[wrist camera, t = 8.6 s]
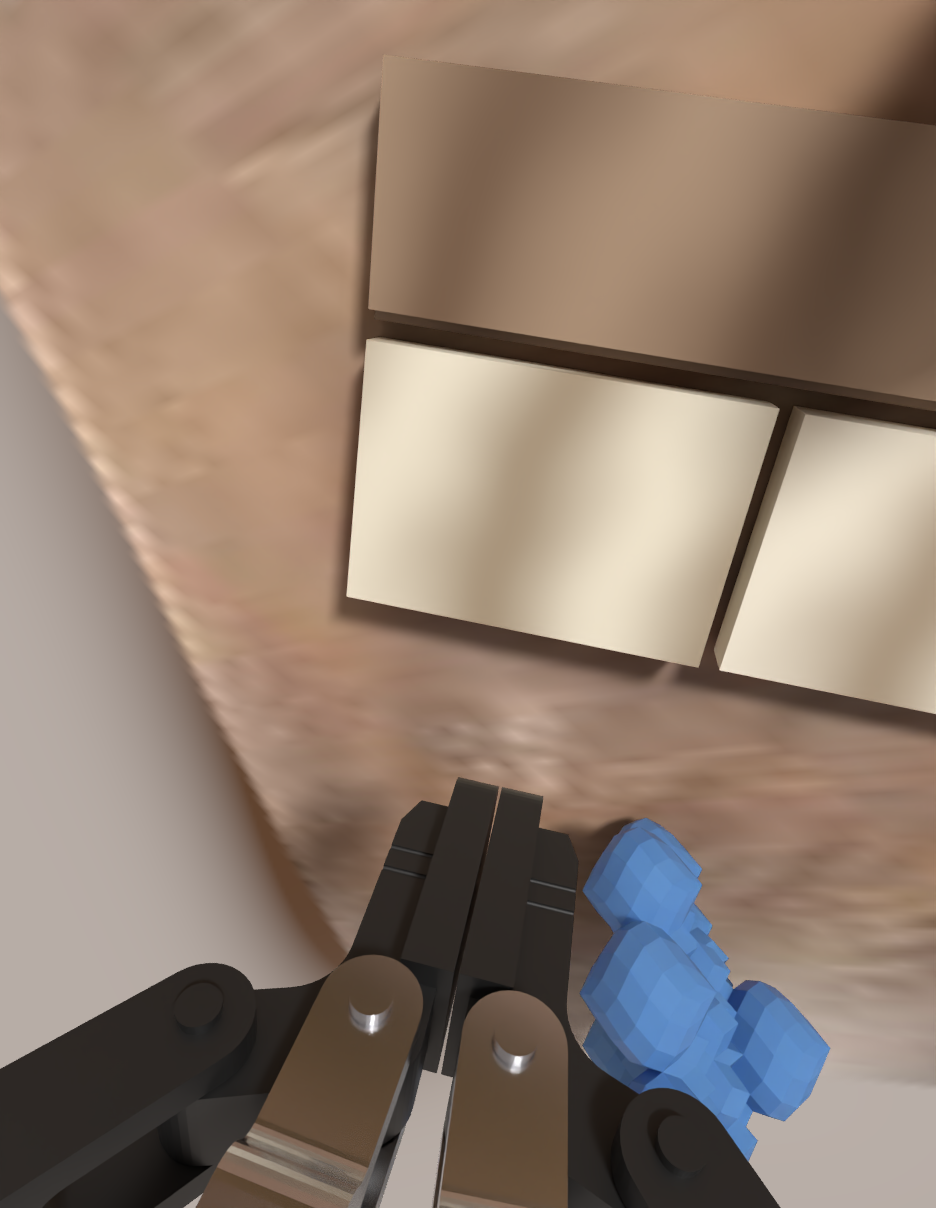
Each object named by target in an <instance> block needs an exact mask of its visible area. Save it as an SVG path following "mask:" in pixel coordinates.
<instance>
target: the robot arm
mask: <svg viewBox="0 0 936 1208" xmlns="http://www.w3.org/2000/svg"><path fill="white" fill-rule="evenodd" d="M498 789H499V786H494V785H490V784H486V783H481V782H477V781H473V780H468V779H464V778H460V777H458V779H457V781H456V784H455V787H454V791H453V794H452V797H451V800H450V803H449V806H448V807H447V806H443V805H439V804H435V803H430V802H426V801H421V802H419V803H418V804H417V805H416V806H415V807H414V808H413V809H412V810H411V811H410V812H409V813H408V814H407V815H406V816H404V817H403V818H402V819H401V822H400V824H399V827H398V830H397V832H396V835H395V837H394V840H393V842H392V846H391V849H390V850H389V853H388V855H387V858H386V860H385V863H384V867H383V870H382V871H381V873H380V876H379V879H378V881H377V884H376V886H375V889H374V891H373V894H372V897H371V899H370V902H369V904H368V907H367V909H366V912H365V915H364V917H363V920H362V922H361V925H360V927H359V930H358V933H357V935H356V938H355V940H354V943H353V946H352V948H351V950H350V952H349V954H348V955H347V957H346V958H345V959H344V961H343V962H342V963H341V964H340V965H339V966H338V967H337V968H336V969H335V970H334V971H332V972H331V973H330V974H328V975H327V976H325V977H323V978H322V979H320V980H318V981H315V982H313V983H310V984H307V985H303V986H297V987H290V988H289V987H288V988H273V989H258V990H254V989H253V987H252V985H251V983H250V981H249V980H248V979H247V978H246V976H245V975H243V974H242V973H241V972H240V971H238V970H236V969H235V968H233V967H230V966H227V965H224V964H218V963H205V964H199V965H195V966H191V967H188V968H186V969H184V970H181V971H179V972H177V973H175V974H174V975H172V976H170V977H168V978H166V979H164V980H163V981H161V982H159V983H157V984H155V985H153V986H151V987H150V988H148V989H146V990H144V991H142V992H140V993H139V994H137V995H135V996H133V997H131V998H130V999H128V1000H126V1001H124V1002H122V1003H120V1004H119V1005H117V1006H115V1007H113V1008H111V1009H109V1010H107V1011H106V1012H104V1013H102V1014H100V1015H98V1016H97V1017H95V1018H93V1019H91V1020H89V1021H87V1022H85V1023H84V1024H82V1025H80V1026H78V1027H76V1028H75V1029H73V1030H71V1031H69V1032H67V1033H65V1034H64V1035H62V1036H60V1037H58V1038H56V1039H54V1040H52V1041H51V1042H49V1043H47V1044H45V1045H43V1046H41V1047H40V1048H38V1049H36V1050H35V1051H32V1052H31V1053H29V1054H27V1055H25V1056H23V1057H21V1058H20V1059H18V1060H16V1061H14V1062H12V1063H10V1064H9V1065H7V1066H5V1067H3V1068H1V1069H0V1208H183V1207H185V1206H186V1205H187V1204H189V1203H190V1202H191V1201H193V1200H194V1199H196V1198H197V1197H198V1196H199V1195H201V1194H202V1193H203V1194H202V1196H201V1198H200V1200H199V1202H198V1204H197V1206H196V1208H379V1207H380V1204H381V1201H382V1198H383V1195H384V1191H385V1188H386V1185H387V1182H388V1179H389V1176H390V1173H391V1170H392V1167H393V1164H394V1161H395V1157H396V1155H397V1151H398V1148H399V1145H400V1142H401V1139H402V1136H403V1133H404V1130H405V1126H406V1123H407V1121H408V1119H409V1117H410V1115H411V1112H412V1109H413V1105H414V1101H415V1097H416V1093H417V1089H418V1085H419V1080H420V1077H421V1073H422V1069H423V1070H427V1071H430V1072H434V1073H437V1069H438V1065H439V1061H440V1056H441V1052H442V1048H443V1043H444V1039H445V1035H446V1030H447V1026H448V1022H449V1017H450V1013H451V1009H452V1004H453V1000H454V1005H453V1011H452V1016H451V1022H450V1027H449V1033H448V1039H447V1044H446V1050H445V1056H444V1061H443V1067H442V1072H441V1074H443V1075H446V1076H450V1077H453V1081H452V1086H451V1091H450V1097H449V1102H448V1107H447V1112H446V1117H445V1123H444V1128H443V1133H442V1138H441V1145H440V1151H439V1159H438V1166H437V1173H436V1181H435V1187H434V1194H433V1202H432V1208H780V1207H779V1205H778V1204H777V1202H776V1201H775V1199H774V1198H773V1196H772V1195H771V1194H770V1192H769V1191H768V1189H767V1188H766V1186H765V1185H764V1184H763V1182H762V1181H761V1179H760V1178H759V1176H758V1175H757V1173H756V1172H755V1171H754V1169H753V1168H752V1166H751V1165H750V1163H749V1162H748V1161H747V1159H746V1158H745V1156H744V1155H743V1153H742V1152H741V1150H740V1149H739V1148H738V1146H737V1145H736V1143H735V1142H734V1140H733V1139H732V1138H731V1136H730V1135H729V1133H728V1132H727V1130H726V1129H725V1128H724V1126H723V1125H722V1123H721V1122H720V1121H719V1120H718V1118H717V1117H716V1116H715V1115H714V1114H713V1113H712V1112H711V1111H710V1110H709V1109H708V1108H707V1107H706V1106H705V1105H704V1104H702V1103H701V1102H700V1101H698V1100H697V1099H695V1098H694V1097H692V1096H690V1095H689V1094H686V1093H684V1092H681V1091H679V1090H675V1089H670V1088H654V1089H649V1090H647V1091H644V1092H642V1093H640V1094H638V1093H637V1092H635V1091H634V1090H632V1089H630V1088H629V1087H627V1086H626V1085H624V1084H623V1083H621V1082H620V1081H618V1080H617V1079H615V1078H614V1077H612V1076H610V1075H609V1074H607V1073H606V1072H605V1071H603V1070H602V1069H601V1068H599V1067H598V1066H597V1065H596V1064H595V1063H593V1062H592V1061H591V1060H590V1059H589V1058H588V1056H587V1055H586V1054H585V1053H584V1052H583V1050H582V1049H581V1048H580V1046H579V1044H578V1043H577V1041H576V1040H575V1037H574V1035H573V1033H572V1031H571V1028H570V1025H569V1021H568V1016H567V991H568V979H569V968H570V956H571V944H572V932H573V921H574V917H573V916H574V909H575V897H576V894H575V892H576V885H577V874H578V862H579V861H578V859H577V856H576V854H575V851H574V849H573V846H572V843H571V841H570V838H569V836H568V835H567V834H563V833H559V832H554V831H550V830H546V829H542V828H539V822H540V815H541V809H542V803H543V796H539V795H534V794H530V793H526V792H521V791H517V790H513V789H508V788H504V787H502V790H501V795H500V799H499V803H498V808H497V812H496V816H495V820H494V825H493V829H492V833H491V828H492V822H493V817H494V811H495V806H496V800H497V795H498ZM490 833H491V838H490ZM489 838H490V842H489ZM488 844H489V846H488ZM487 849H488V851H487ZM486 854H487V855H486ZM456 987H457V988H456ZM455 991H456V994H455ZM454 996H455V999H454Z"/></svg>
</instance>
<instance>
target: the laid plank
mask: <svg viewBox="0 0 936 1208" xmlns="http://www.w3.org/2000/svg"><path fill="white" fill-rule="evenodd" d="M368 309H371V310H375V319H376V320H383V321H389V322H395V323H401V324H407V325H413V326H419V327H425V328H431V329H437V330H443V331H450V332H456V333H462V334H468V335H474V336H480V337H486V338H492V339H498V340H504V341H510V342H517V343H523V344H529V345H535V346H541V347H547V348H553V349H559V350H565V351H571V352H577V353H583V354H590V355H596V356H602V357H608V358H614V359H620V360H626V361H632V362H638V363H644V364H650V365H657V366H663V367H669V368H675V369H681V370H687V371H693V372H699V373H705V374H711V375H717V376H724V377H730V378H736V379H742V380H748V381H754V382H760V383H766V384H772V385H778V386H784V387H790V388H797V389H803V390H809V391H815V392H821V393H827V394H833V395H839V396H845V397H851V398H857V399H864V400H870V401H876V402H882V403H888V404H894V405H900V406H906V407H912V408H918V409H924V410H931V411H936V125H929V124H921V123H913V122H905V121H898V120H890V119H882V118H874V117H866V116H859V115H851V114H843V113H835V112H827V111H820V110H812V109H804V108H796V107H789V106H781V105H773V104H765V103H757V102H750V101H742V100H734V99H726V98H718V97H711V96H703V95H695V94H687V93H679V92H672V91H664V90H656V89H648V88H641V87H633V86H625V85H617V84H609V83H602V82H594V81H586V80H578V79H570V78H563V77H555V76H547V75H539V74H531V73H524V72H516V71H508V70H500V69H493V68H485V67H477V66H469V65H461V64H454V63H446V62H438V61H430V60H422V59H415V58H407V57H399V56H391V55H383V62H382V79H381V97H380V114H379V131H378V149H377V166H376V183H375V201H374V218H373V235H372V253H371V270H370V287H369V305H368Z"/></svg>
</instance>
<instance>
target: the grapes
mask: <svg viewBox="0 0 936 1208" xmlns="http://www.w3.org/2000/svg"><path fill="white" fill-rule="evenodd" d="M701 871H702V868H701V867H700V866H699V865H698V864H697V862H696V861H695V860H694V859H693V857H692V856H691V855H690V854H689V853H688V851H687V850H686V849H685V848H684V847H683V846H682V845H681V844H680V843H679V841H678V840H677V839H676V838H675V837H674V836H673V835H672V834H671V833H670V832H668V831H667V830H666V829H665V828H663V827H662V826H661V825H659V824H657V823H655V822H653V821H651V820H649V819H648V818H643V819H640V820H636V821H634V822H631V823H629V824H627V825H625V826H623V828H622V829H621V831H620V832H619V834H617V835H615V836H614V837H613V838H612V840H611V841H610V843H609V844H608V846H607V847H606V849H605V850H604V852H603V853H602V855H601V856H600V858H599V860H598V861H597V863H596V864H595V866H594V868H593V869H592V871H591V874H590V876H589V878H588V880H587V882H586V884H585V886H584V888H583V890H582V891H583V892H584V894H585V895H586V897H587V898H588V899H589V901H590V902H591V904H592V905H593V907H594V908H595V910H596V911H597V912H598V913H599V915H600V916H601V917H602V918H603V919H604V920H605V921H606V923H607V924H608V925H609V926H610V927H611V930H612V931H613V933H614V934H613V936H612V937H611V939H610V940H609V942H608V943H607V944H606V946H605V948H604V949H603V951H602V952H601V954H600V956H599V957H598V959H597V960H596V962H595V964H594V965H593V967H592V968H591V970H590V972H589V975H588V977H587V979H586V981H585V983H584V985H583V987H582V989H581V992H580V995H581V997H582V998H583V1000H584V1001H585V1003H586V1005H587V1006H588V1008H589V1009H590V1011H591V1013H592V1014H593V1016H594V1017H595V1021H594V1023H593V1024H592V1026H591V1029H590V1031H589V1033H588V1035H587V1037H586V1039H585V1041H584V1044H583V1047H584V1049H585V1050H586V1052H587V1054H588V1055H589V1057H590V1059H591V1060H592V1062H593V1063H595V1064H596V1065H597V1066H598V1067H599V1068H601V1069H602V1070H603V1071H605V1072H606V1073H607V1074H609V1075H610V1076H612V1077H614V1078H615V1079H617V1080H618V1081H620V1082H621V1083H623V1084H624V1085H626V1086H627V1087H629V1088H630V1089H632V1090H634V1091H635V1092H637V1093H638V1094H640V1093H642V1092H644V1091H647V1090H649V1089H654V1088H670V1089H675V1090H679V1091H681V1092H684V1093H686V1094H689V1095H690V1096H692V1097H694V1098H695V1099H697V1100H698V1101H700V1102H701V1103H702V1104H704V1105H705V1106H706V1107H707V1108H708V1109H709V1110H710V1111H711V1112H712V1113H713V1114H714V1115H715V1116H716V1117H717V1118H718V1120H719V1121H720V1122H721V1123H722V1125H723V1126H724V1128H725V1129H726V1130H727V1132H728V1133H729V1135H730V1136H731V1138H732V1139H733V1140H734V1142H735V1143H736V1145H737V1146H738V1148H739V1149H740V1150H741V1152H742V1153H743V1155H744V1156H745V1158H746V1159H747V1161H749V1159H750V1156H751V1154H752V1152H753V1150H754V1148H755V1145H756V1143H757V1139H756V1138H755V1137H754V1136H753V1135H752V1134H751V1132H750V1131H749V1130H748V1129H747V1128H746V1125H747V1123H748V1121H749V1119H750V1116H751V1114H752V1112H753V1111H754V1112H757V1113H760V1114H762V1115H766V1116H768V1117H771V1118H775V1119H778V1120H781V1121H785V1120H786V1119H787V1118H788V1117H789V1116H790V1115H791V1114H792V1113H793V1112H794V1111H795V1110H796V1109H797V1108H798V1107H799V1106H800V1105H801V1104H802V1103H803V1102H804V1101H805V1100H806V1099H807V1098H808V1097H809V1096H810V1094H811V1092H812V1090H813V1087H814V1085H815V1083H816V1080H817V1078H818V1076H819V1074H820V1071H821V1069H822V1067H823V1064H824V1062H825V1060H826V1057H827V1055H828V1053H829V1050H830V1047H829V1046H828V1045H827V1044H826V1042H825V1041H824V1040H823V1039H822V1037H821V1036H820V1035H819V1034H818V1032H817V1031H816V1030H815V1029H814V1027H813V1026H812V1025H811V1024H810V1023H809V1022H808V1020H807V1019H806V1018H805V1017H804V1016H803V1015H802V1014H801V1013H800V1011H799V1010H798V1009H797V1008H796V1007H795V1006H794V1005H793V1004H792V1003H791V1002H790V1001H789V1000H788V999H787V998H786V997H784V996H783V995H782V994H781V993H780V992H779V991H778V990H777V989H776V988H774V987H772V986H770V985H767V984H765V983H763V982H761V981H750V980H745V981H744V982H743V983H741V984H740V985H739V986H737V987H736V988H735V989H733V988H732V986H733V984H732V983H731V981H730V980H729V979H728V975H729V973H730V970H729V969H728V967H727V966H726V965H725V962H726V961H727V960H728V959H729V958H728V957H727V956H726V955H725V954H724V953H723V951H722V950H721V949H720V948H719V947H718V946H717V945H716V944H715V942H714V941H713V940H712V939H711V938H710V937H708V934H709V932H710V930H711V928H712V925H711V923H710V922H709V921H708V920H707V918H706V917H705V916H704V915H703V913H702V912H701V911H700V909H699V908H698V907H697V906H696V905H695V904H694V902H695V900H696V897H697V895H698V893H699V891H700V889H701V887H702V884H701V883H700V881H699V880H698V877H699V875H700V873H701Z"/></svg>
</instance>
